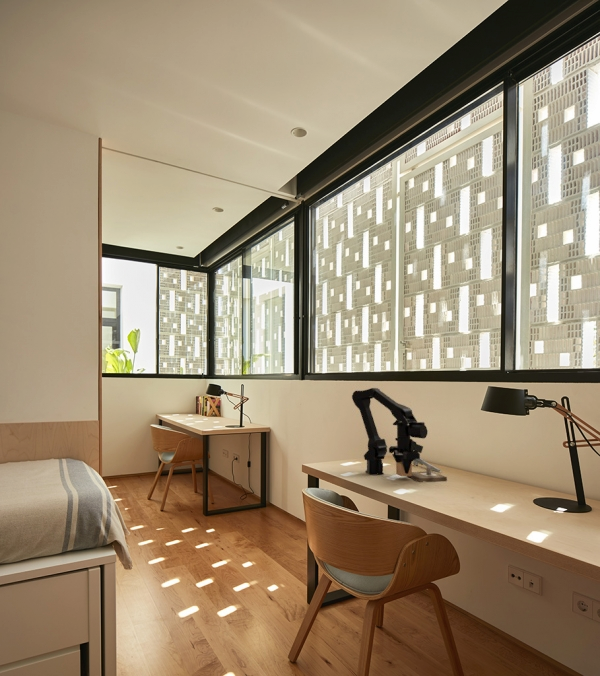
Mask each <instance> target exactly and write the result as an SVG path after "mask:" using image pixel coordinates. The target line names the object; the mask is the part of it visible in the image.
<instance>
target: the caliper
mask: <svg viewBox="0 0 600 676" xmlns="http://www.w3.org/2000/svg"><path fill="white" fill-rule="evenodd" d="M412 464H414V465H413V466H415V465H418V466H419V465H421V466H422V465H423V466H425V467H426V465H431V471H432V470H433V472H434V471H435V472H436V471H437V472H436V473H440V472H442V471H441V469H440V468H438V467H436V466H434V465H432V464H431V463H428V462H427V461H425V460H424V459H423V458H421V457H420V459H415V460H413V461H412Z"/></svg>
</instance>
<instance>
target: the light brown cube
mask: <svg viewBox="0 0 600 676" xmlns="http://www.w3.org/2000/svg"><path fill="white" fill-rule="evenodd" d="M412 464H413V463H411V466H410V469H409V472H408V474H406V473H405V471H404V467H403V464H402V462H396V461H395V470H396V471H395V472H396V473H395V475H398V476H400V477H408V476H412V472H413V465H412Z"/></svg>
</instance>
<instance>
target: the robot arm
mask: <svg viewBox="0 0 600 676" xmlns="http://www.w3.org/2000/svg"><path fill="white" fill-rule="evenodd" d="M351 399H352V401H353V403H354V406H355V407H357V409H358V410H359V412H360V416H361V419H362V421H363V426H364V428H365V431H366V435H367V438H368V442H367V449H368V450H367V451H366V452H365V453H364V454H363V458H364V460H366V470H365V473H367V474H369V475H384V462H383V460H384V459H385V457H386V455H387V452H388V453H390V454H392V457H393V459H394V461H395V463H396V462H402V464H403V467H404V471H405V473H406V474H408V472H409V469H410V466H411V464H413V460H415V459H420V458H421V454H422V452H423V449H424V446H423V445H421V444H417V441H414V439H412V438H415V439H423V440H424V439H425V438H427V436H428V428H427V425H425V424H426V423H425V422H424V421H417V420H418V419H416V418H415V415H414V414H413V410H412V409H411V408H410V407H408V406H406V405H404V404H401V403H398V402H397V401H395V400H394V399H392V398H391V397H390V396H388V395H387V394H385V393H384V392H383V391H381V390H380V388H378V387H372V388H368V389H365V390H355V391H353V393H352V395H351ZM371 399H374V400H376V401H377V402H378V403H380V404H381V405H382V406H384V407H385V408H386V409H388V410H389V411H390V413H391V415H392V417H394V418H395V419H396V420H395V421H394V422H393V423H392V425H393V426H396V437H395V439H394V440H395V441H396V442H397V443H396V445H393V446H392V445H390V446H389V447H388V446H387V443H386V440H385V438H381V436H380V435H379V432H378V429H377V426H376V424H375V420H374V417H373V413H372V410H371V406H370V405H371V403H372V402H371Z"/></svg>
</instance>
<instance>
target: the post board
mask: <svg viewBox="0 0 600 676" xmlns="http://www.w3.org/2000/svg"><path fill="white" fill-rule="evenodd" d="M431 465H432V464H431ZM431 465H426V466H425V467H426V470H425V471H412V476H409V477H408V478H410V477H411V478H410V479H412V478H413V479H412V480H414V479H415V480H414V481H416V480H417V482H418V481H419V482H418V483H423V481H430V482H443V481H442V480H447V481H448V477H447V476H445V475H442V474H441V473H440V474H439V473H438V472H436V471H435V472H434V471H432V469H431Z"/></svg>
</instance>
